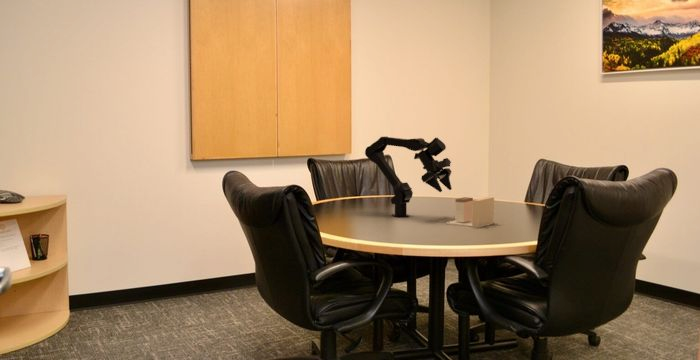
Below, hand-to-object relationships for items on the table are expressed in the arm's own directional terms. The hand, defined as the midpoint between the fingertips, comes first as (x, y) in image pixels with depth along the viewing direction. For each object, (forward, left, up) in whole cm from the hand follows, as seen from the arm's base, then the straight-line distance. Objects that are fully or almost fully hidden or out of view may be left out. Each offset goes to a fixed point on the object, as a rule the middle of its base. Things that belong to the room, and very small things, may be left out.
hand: (446, 190), depth 286 cm
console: (+12, +5, -14) cm, 19 cm away
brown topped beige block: (+9, +4, -14) cm, 17 cm away
